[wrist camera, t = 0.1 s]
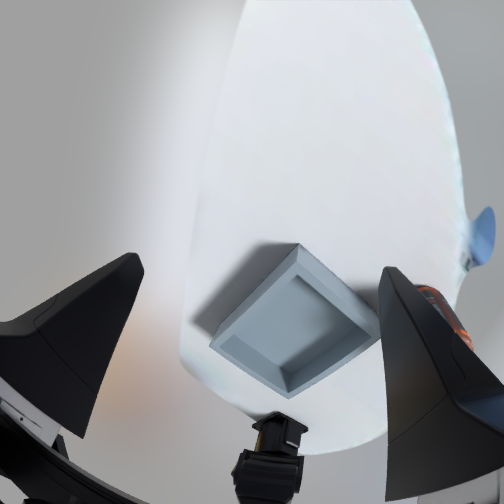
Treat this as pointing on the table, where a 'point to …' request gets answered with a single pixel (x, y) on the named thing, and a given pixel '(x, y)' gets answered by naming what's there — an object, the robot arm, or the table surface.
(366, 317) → the tote
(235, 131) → the table surface
